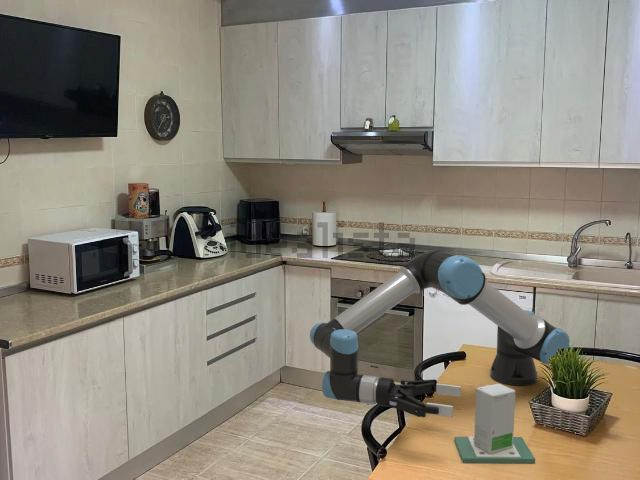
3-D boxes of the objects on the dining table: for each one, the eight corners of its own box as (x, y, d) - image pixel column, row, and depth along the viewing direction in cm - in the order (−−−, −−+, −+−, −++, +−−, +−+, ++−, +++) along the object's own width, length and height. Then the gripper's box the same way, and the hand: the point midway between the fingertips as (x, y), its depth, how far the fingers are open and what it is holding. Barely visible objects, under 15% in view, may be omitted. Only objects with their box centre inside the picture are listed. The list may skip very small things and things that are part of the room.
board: (462, 462, 164) (463, 457, 164) (454, 440, 176) (454, 435, 175) (534, 463, 163) (535, 457, 163) (521, 441, 175) (521, 435, 175)
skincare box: (489, 454, 165) (491, 396, 162) (472, 444, 171) (474, 387, 168) (514, 447, 169) (517, 390, 166) (496, 437, 174) (498, 381, 172)
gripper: (389, 387, 190) (463, 396, 183) (365, 422, 167) (448, 435, 160) (389, 362, 189) (463, 371, 182) (365, 395, 166) (448, 406, 159)
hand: (456, 401), depth 171 cm, fingers open, 13 cm apart
